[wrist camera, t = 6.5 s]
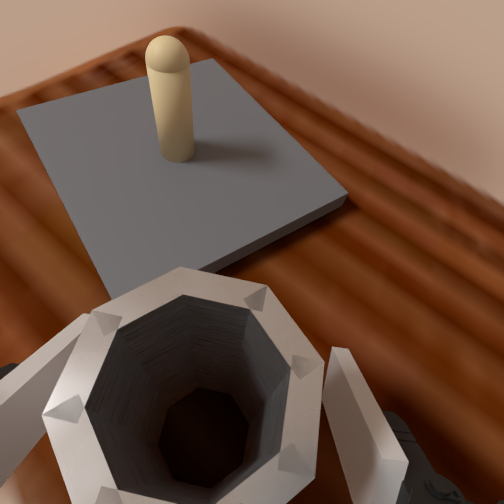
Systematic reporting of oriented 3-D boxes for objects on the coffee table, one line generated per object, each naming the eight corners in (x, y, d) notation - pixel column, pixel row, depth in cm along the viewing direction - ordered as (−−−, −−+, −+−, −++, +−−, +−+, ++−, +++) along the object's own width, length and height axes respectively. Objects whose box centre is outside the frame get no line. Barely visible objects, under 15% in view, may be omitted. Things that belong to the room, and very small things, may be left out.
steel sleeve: (284, 453, 18) (373, 427, 8) (179, 537, 16) (121, 647, 6) (223, 354, 21) (233, 239, 10) (125, 416, 18) (17, 346, 8)
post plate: (342, 205, 28) (396, 91, 19) (123, 320, 21) (65, 221, 13) (212, 72, 36) (212, -48, 27) (24, 126, 29) (-51, -12, 21)
